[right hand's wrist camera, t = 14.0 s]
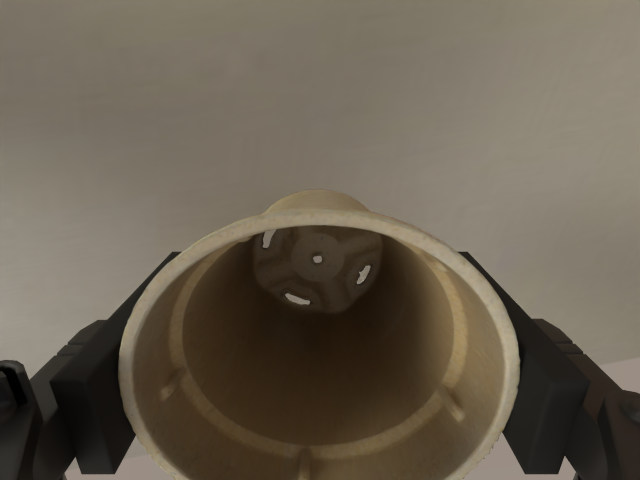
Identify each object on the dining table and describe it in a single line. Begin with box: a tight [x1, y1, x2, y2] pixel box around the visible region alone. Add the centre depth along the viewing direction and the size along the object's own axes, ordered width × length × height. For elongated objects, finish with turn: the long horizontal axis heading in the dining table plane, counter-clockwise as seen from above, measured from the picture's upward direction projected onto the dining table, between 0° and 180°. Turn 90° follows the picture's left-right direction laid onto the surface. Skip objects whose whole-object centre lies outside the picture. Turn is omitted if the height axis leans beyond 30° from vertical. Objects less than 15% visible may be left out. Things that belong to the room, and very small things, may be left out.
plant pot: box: [118, 189, 520, 480], centre depth 13 cm, size 9×9×9 cm
